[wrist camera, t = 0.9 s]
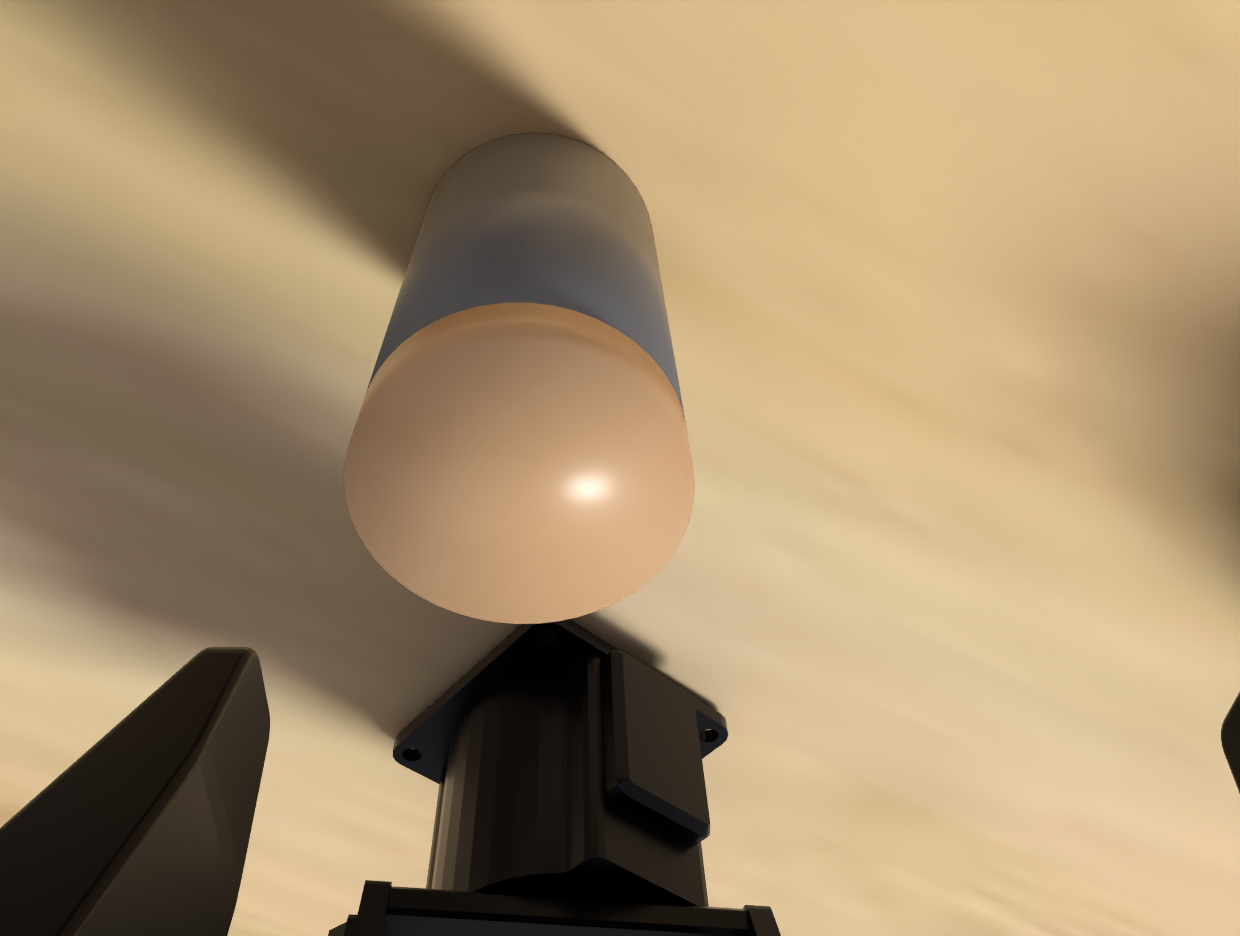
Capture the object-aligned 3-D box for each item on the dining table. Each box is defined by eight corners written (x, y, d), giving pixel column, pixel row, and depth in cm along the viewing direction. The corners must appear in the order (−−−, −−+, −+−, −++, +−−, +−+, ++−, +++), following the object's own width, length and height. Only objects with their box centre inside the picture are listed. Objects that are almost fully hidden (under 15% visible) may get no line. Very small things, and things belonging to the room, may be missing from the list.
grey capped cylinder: (552, 389, 21) (544, 669, 15) (376, 259, 19) (275, 511, 13) (701, 238, 19) (766, 480, 13) (521, 79, 18) (490, 266, 11)
